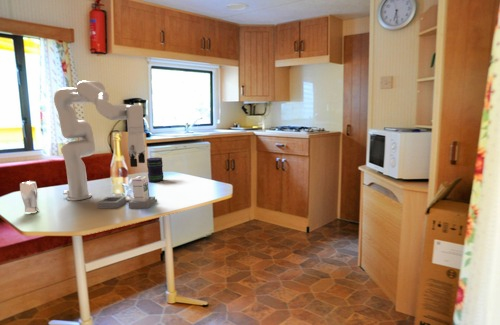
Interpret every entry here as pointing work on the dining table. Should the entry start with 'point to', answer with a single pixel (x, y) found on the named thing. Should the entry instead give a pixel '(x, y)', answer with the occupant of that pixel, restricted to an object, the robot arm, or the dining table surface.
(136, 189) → the syrup box
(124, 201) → the panel
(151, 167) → the storage jar
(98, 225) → the dining table surface
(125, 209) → the dining table surface
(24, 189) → the white vase
